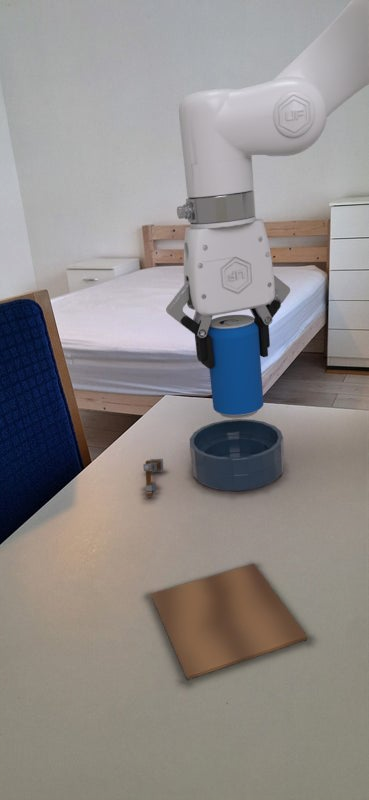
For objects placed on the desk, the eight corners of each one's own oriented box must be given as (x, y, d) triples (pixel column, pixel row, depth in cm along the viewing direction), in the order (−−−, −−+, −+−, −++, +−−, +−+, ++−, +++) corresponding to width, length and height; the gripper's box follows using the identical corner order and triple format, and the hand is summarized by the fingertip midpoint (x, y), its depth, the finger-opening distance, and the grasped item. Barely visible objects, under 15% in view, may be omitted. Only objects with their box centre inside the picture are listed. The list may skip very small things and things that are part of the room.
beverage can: (249, 397, 81) (243, 311, 77) (273, 412, 75) (267, 320, 71) (206, 408, 79) (196, 320, 75) (226, 425, 73) (217, 331, 69)
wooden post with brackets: (140, 497, 74) (139, 461, 75) (151, 490, 82) (149, 457, 83) (155, 497, 74) (153, 460, 74) (164, 489, 82) (162, 457, 82)
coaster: (254, 566, 61) (254, 563, 61) (307, 639, 52) (307, 636, 51) (151, 597, 58) (151, 593, 58) (187, 680, 49) (186, 676, 48)
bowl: (259, 444, 88) (258, 412, 86) (300, 480, 77) (299, 445, 75) (181, 462, 84) (177, 430, 82) (211, 503, 73) (208, 467, 72)
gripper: (158, 223, 63) (178, 382, 69) (305, 202, 67) (311, 354, 74) (140, 220, 69) (160, 365, 76) (275, 201, 74) (283, 340, 80)
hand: (234, 358), depth 75 cm, fingers closed on beverage can, 6 cm apart
